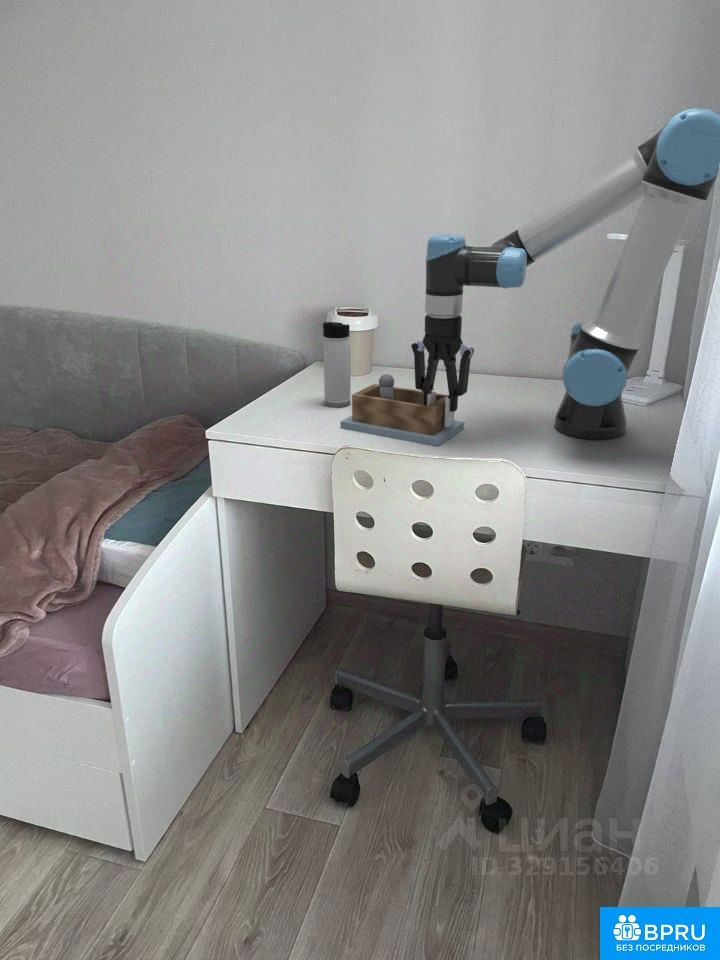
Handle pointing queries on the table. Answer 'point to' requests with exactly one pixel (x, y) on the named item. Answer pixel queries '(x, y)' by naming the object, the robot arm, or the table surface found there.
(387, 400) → the wooden storage tray
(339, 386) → the travel mug
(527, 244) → the robot arm
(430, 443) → the plate
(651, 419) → the table surface
